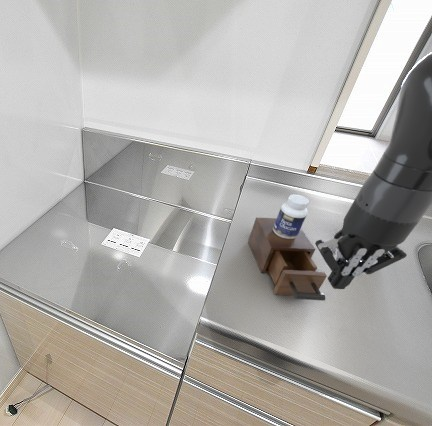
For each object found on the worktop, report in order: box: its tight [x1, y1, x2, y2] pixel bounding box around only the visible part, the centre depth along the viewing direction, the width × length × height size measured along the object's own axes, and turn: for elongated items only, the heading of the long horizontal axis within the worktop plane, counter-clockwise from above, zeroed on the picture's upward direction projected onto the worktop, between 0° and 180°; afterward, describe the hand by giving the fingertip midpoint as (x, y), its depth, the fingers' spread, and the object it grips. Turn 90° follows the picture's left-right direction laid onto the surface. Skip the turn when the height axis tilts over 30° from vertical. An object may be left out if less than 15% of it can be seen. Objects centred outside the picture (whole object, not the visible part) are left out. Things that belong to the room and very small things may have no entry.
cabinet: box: [247, 217, 316, 275], centre depth 74 cm, size 12×10×9 cm
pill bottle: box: [273, 194, 310, 239], centre depth 68 cm, size 5×5×10 cm
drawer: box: [267, 250, 328, 302], centre depth 66 cm, size 15×8×7 cm, turn 175°
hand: (335, 285), depth 52 cm, fingers closed
